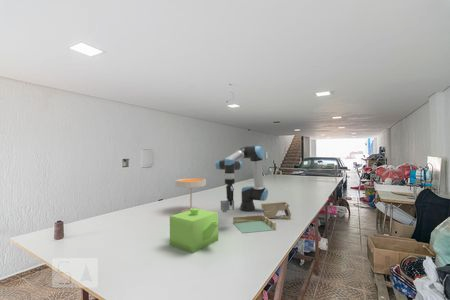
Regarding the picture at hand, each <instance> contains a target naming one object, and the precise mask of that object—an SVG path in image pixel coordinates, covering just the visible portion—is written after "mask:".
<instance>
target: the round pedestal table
mask: <svg viewBox="0 0 450 300" xmlns="http://www.w3.org/2000/svg"><path fill="white" fill-rule="evenodd" d="M206 185H207V180H206V179H205V178H202V177H201V178H200V177H199V178H198V177H193V178H191V177H188V178H178V179H175V187H176V188H189V206H190V208H185V209H182V210H180V213H182V212H186V211H189V210H190V209H192V208H193V207H192V206H193V205H192V204H193V201H192V200H193V196H192V195H193V194H192V191H193V190H192V189H193V188H201V187H206Z"/></svg>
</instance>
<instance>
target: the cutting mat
mask: <svg viewBox="0 0 450 300" xmlns="http://www.w3.org/2000/svg"><path fill="white" fill-rule="evenodd" d="M232 224H233V225H234V226H235V228H237V229H238V230H239V231H240V233H242V234H250V233H259V232H269V231H276V229H277V228H276V229H275V230H274V229H273V228H271V227H270V226H268V225H267V224H266V223H264V222H263V221H255V222H244V223H233V222H232Z"/></svg>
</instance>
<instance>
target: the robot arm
mask: <svg viewBox="0 0 450 300" xmlns="http://www.w3.org/2000/svg"><path fill="white" fill-rule="evenodd" d="M264 157H265V150H264V148H263V147H262V146H260V145H252V146H251V145H250V146H247V145H246V146H243V147H240V148H239V149H237V150H235V152H234V153H231V155H228V156H226V157H225V158H223V159H222V160H216V161H215V165H214V166H215V168H216V169H217V170H220V171H221V170H223V171H224V184H225V185H226V186H225V189H226V199H227V200H229V210H228V211H233V210H232V201H233V200H234V190H235V188H234V186H233V185H234V184H235V171H239V170H242V168H243V162H242V161H241V160H242V159H249V160H250V162H251V164H252V165H251V166H252V174H253V184H254V185H252V186H251V185H250V186H248V185H247V186H243V187H241V192H240V193H241V202H240V207H239V210H240V211H244V212H254V211H255V210H256V206H255V203H254V201H259V202H262V201H263V202H264V201H267V198H268V195H269V190H268V188H266V186H265V185H264V177H263V168H262V166H263V165H262V161H263V159H264Z"/></svg>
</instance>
